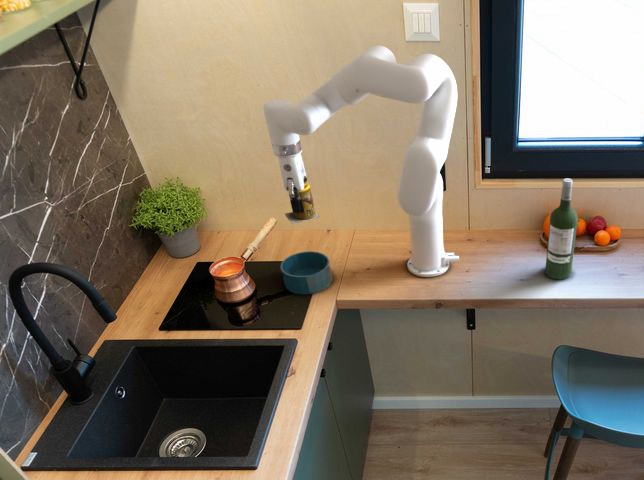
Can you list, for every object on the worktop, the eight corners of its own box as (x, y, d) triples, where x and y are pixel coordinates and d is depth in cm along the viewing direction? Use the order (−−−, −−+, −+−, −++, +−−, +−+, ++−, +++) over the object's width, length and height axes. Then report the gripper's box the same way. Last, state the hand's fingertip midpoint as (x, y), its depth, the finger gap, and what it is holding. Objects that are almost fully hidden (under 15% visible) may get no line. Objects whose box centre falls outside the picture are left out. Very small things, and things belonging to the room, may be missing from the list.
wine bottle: (545, 279, 178) (553, 186, 159) (544, 265, 185) (552, 173, 166) (571, 280, 178) (583, 187, 159) (570, 266, 184) (581, 174, 166)
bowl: (334, 267, 180) (331, 250, 176) (330, 293, 170) (326, 275, 166) (288, 269, 179) (284, 252, 175) (281, 295, 168) (277, 277, 165)
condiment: (320, 217, 177) (312, 179, 170) (292, 224, 173) (283, 186, 166) (311, 207, 182) (303, 170, 174) (284, 214, 178) (275, 177, 171)
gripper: (296, 159, 158) (309, 220, 170) (304, 135, 172) (316, 193, 183) (267, 160, 158) (282, 221, 169) (278, 136, 171) (291, 194, 182)
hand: (300, 206), depth 176 cm, fingers closed on condiment, 6 cm apart
